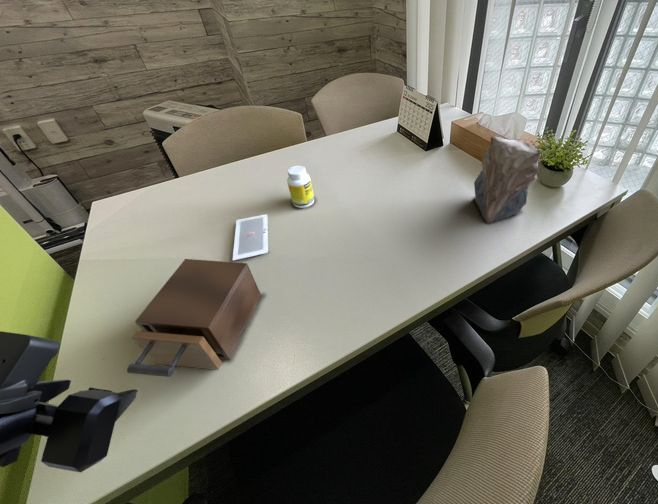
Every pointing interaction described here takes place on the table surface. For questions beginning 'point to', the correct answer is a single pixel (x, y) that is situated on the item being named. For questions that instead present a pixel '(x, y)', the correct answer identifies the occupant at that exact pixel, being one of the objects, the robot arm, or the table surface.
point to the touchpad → (251, 237)
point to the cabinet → (206, 301)
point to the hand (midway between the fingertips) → (101, 389)
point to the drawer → (174, 350)
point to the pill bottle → (300, 187)
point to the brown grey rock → (505, 178)
